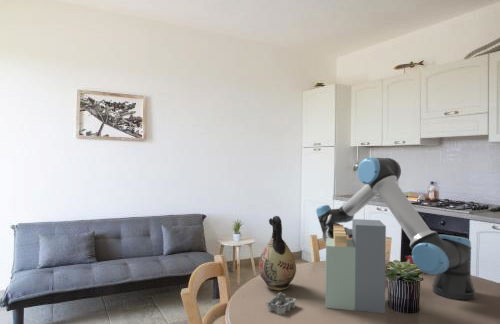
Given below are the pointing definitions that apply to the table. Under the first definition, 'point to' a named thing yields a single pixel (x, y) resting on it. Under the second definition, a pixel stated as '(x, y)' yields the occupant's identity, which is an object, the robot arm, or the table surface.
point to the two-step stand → (357, 269)
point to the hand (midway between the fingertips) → (345, 223)
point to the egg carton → (280, 303)
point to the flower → (409, 259)
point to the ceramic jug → (277, 260)
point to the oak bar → (339, 236)
